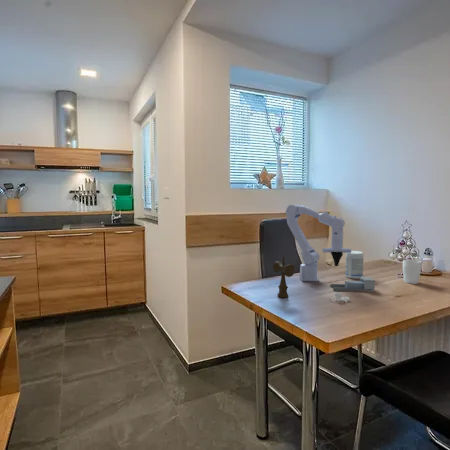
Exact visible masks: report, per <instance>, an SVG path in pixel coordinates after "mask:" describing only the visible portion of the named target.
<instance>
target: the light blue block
mask: <svg viewBox="0 0 450 450" xmlns="http://www.w3.org/2000/svg"><path fill="white" fill-rule="evenodd" d="M344 284H345V287H344V288H364V281H360V280H353V281H352V280H345V281H344Z"/></svg>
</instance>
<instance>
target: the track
mask: <svg viewBox="0 0 450 450" xmlns="http://www.w3.org/2000/svg"><path fill="white" fill-rule="evenodd" d="M359 281H364V288H345V283H330V284H329V288H332V291H334V292H358V291H368V292H367V293H370V292H371V293H375V288H376V287H375V285H376V280H375V279H374V278H372V277H371V276H363V277H360V278H359Z"/></svg>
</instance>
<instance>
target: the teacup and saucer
mask: <svg viewBox="0 0 450 450" xmlns="http://www.w3.org/2000/svg"><path fill="white" fill-rule="evenodd" d="M333 295H334V296H333ZM331 296H332V297H331V298H333V297H335V299H334V298H333V299H332V300H337V301H336V302H338V301H339V302H344V301H347V302H350V299H351V298H350V297H349V296H343V294H342V291H334V292H333V293H332V295H331ZM342 296H343V297H342ZM342 300H343V301H342Z"/></svg>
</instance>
